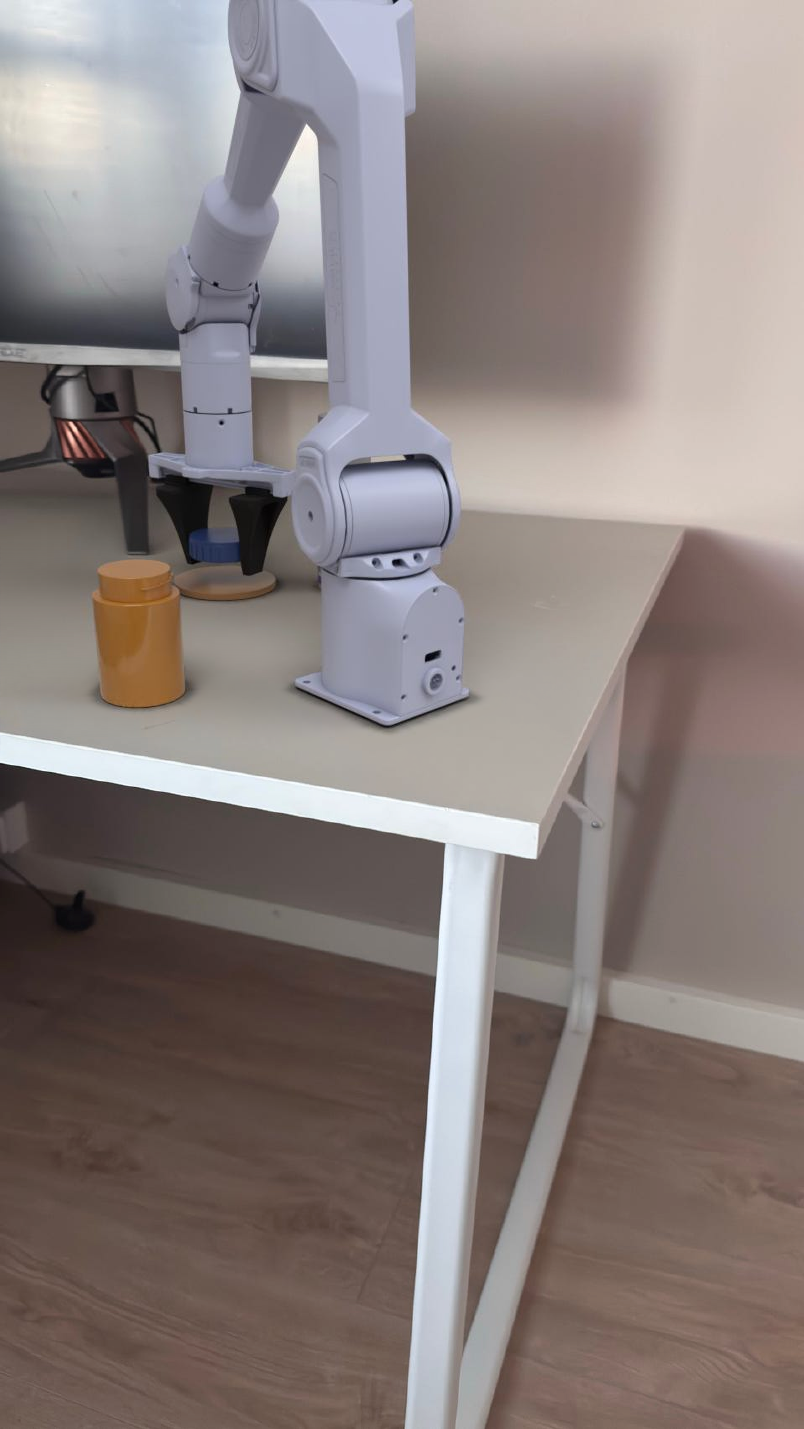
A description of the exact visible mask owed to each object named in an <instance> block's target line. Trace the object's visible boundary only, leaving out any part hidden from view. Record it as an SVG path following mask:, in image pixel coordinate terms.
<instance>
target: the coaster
mask: <svg viewBox="0 0 804 1429" xmlns="http://www.w3.org/2000/svg"><path fill="white" fill-rule="evenodd" d="M173 578H174V579H173V585H174V586H175V587H177V588H178V589H179V591H180V595H182V596H184V597H188V598H193V599H197V600H206V601H236V600H237V601H238V600H247V599H251V598H257V597H260V596H263V595H266V594H268V593H271V592H272V591H273V590H275V588H276V586H277V585H276V584H277V583H276V582H277V580H276V576H275V575H274V574H273V573H271V572H269V571H267V570H264V569H263V571H262V572H260V573H257V574H254V575H251V576H246V575H243V573H242V568H241V565H214V566H204V567H198V568H193V569H189V570H186V571H183V572H181V573H179V574H177V575H176V576H175V577H173Z"/></svg>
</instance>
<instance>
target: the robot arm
mask: <svg viewBox="0 0 804 1429" xmlns="http://www.w3.org/2000/svg"><path fill="white" fill-rule="evenodd" d="M227 9H228V10H227V11H228V12H227V37H228V38H227V39H228V46H229V51H230V56H231V60H232V65H233V69H234V70H233V71H234V75H235V79H236V83H237V86H238V89H239V91H240V93H239V99H238V103H237V109H236V114H235V119H234V124H233V130H232V135H231V139H230V145H229V150H228V155H227V160H226V166H225V172H224V174H221V175H218V176H215V177H213V178H212V179H210V180H209V181H208V182H207V184H206V185H205V187H204V189H203V192H202V195H201V199H200V202H199V206H198V209H197V213H196V217H195V220H194V224H193V227H192V230H191V233H190V237H189V241H188V243H186V245H183V244H181V245H179V247H178V249H177V251H173V252H172V253H171V254H170V256H169V257H168V259H167V264H166V269H165V275H164V276H165V277H164V296H165V304H166V308H167V309H166V310H167V313H168V317H169V319H170V322H171V324H172V326H173V328H174V329H175V330H176V331H178V342H179V343H178V344H179V360H180V378H181V380H180V381H181V395H182V398H181V399H182V415H183V417H182V418H183V434H184V436H183V437H184V452H185V453H171V452H169V453H168V452H159V453H153V454H149V455H148V456H147V459H148V472H149V478H152V479H153V478H154V479H162V478H165V481H163V482H164V484H161V485H158V486H156V487H155V495H156V497H157V498H158V500H159V502H161V504H162V505H163V507H164V509H165V511H166V512H167V514H168V516H169V518H170V521H172V524H173V526H174V528H175V532H176V534H177V536H178V539H179V542H180V545H181V548H182V552H183V555H184V559H185V561H186V564H187V565H191V566H193V565H197V564H199V563H202V561H198V560H195V559H193V558H192V557H191V556H190V555H189V535H190V533H192V532H194V531H196V530H200V529H205V528H209V515H210V505H211V500H212V494H213V489H214V486H218V487H225V488H232V489H238V490H244V493H240V494H236V495H232V496H229V497H228V503H229V506H230V507H231V511H232V514H233V518H234V520H235V525H236V526H235V527H236V528H237V530H238V536H239V545H240V562H239V563H240V566H241V568H242V573H243V575H246V576H251V575H254V574H257V573H260V572H262V571H263V570H264V568H265V561H266V557H267V552H268V548H269V545H270V540H271V537H272V534H273V531H274V529H275V526H276V525H277V521H278V519H279V518H280V515H281V513H282V511H283V509H284V507H285V506H286V504H287V503H288V499H289V498H288V497H289V496H291V501H290V503H291V504H290V505H291V506H290V511H291V513H290V514H291V521H292V522H291V523H292V527H293V532H294V535H295V538H296V541H297V543H298V545H299V548H300V549H301V550H302V552H303V553H304V555H305V556H306V557H307V558H308V559H309V560H310V562H312V563H313V564H314V565H316V566H317V567H318V566H321V589H320V596H321V598H320V603H321V609H320V611H321V613H320V614H321V617H320V618H321V619H320V621H321V622H320V623H321V670H320V671H316V672H313V673H310V674H307V675H303V676H301V677H297V678H295V680H294V686H295V687H296V688H298V689H301V690H303V691H305V692H308V693H310V694H311V695H315V696H317V697H319V698H321V699H324V700H326V701H328V702H330V703H333V704H334V705H337V706H339V707H342V708H344V709H347V710H349V711H350V712H353V713H354V714H356V715H357V714H358V715H360V716H362V717H364V718H367V719H369V720H371V721H374V722H376V723H378V724H380V725H383V726H394V725H395V724H398V723H401V722H404V721H407V720H409V719H411V718H414V717H417V716H419V715H423V714H425V713H428V712H431V711H433V710H435V709H439V708H441V707H445V706H447V705H449V704H452V703H455V702H457V701H458V702H459V701H460V700H463V699H465V698H468V697H469V696H470V689H469V688H467V687H465V686H463V666H464V647H465V646H464V645H465V628H466V610H465V605H464V602H463V599H462V597H461V595H460V593H459V592H458V591H457V590H456V588H454V587H453V586H451V585H449V584H448V583H445V582H444V581H442V580H441V579H440V578H439V577H438V576H437V575H436V574H435V572H434V570H433V569H432V567H434V566H439V565H441V560H442V558H441V557H442V552H443V551H445V550H446V549H448V547H450V546H451V544H452V543H453V541H454V539H455V537H456V536H457V532H458V529H459V527H460V523H461V517H462V501H461V500H462V498H461V494H460V488H459V486H458V482H457V480H456V475H455V471H454V465H453V458H452V457H453V456H452V442H451V440H450V439H449V438H448V437H447V436H446V435H445V433H443V431H441V430H439V429H438V428H437V427H435V426H434V425H433V424H432V423H431V422H429V421H428V420H427V419H426V418H424V417H423V416H422V415H420V413H418V411H416V410H415V409H414V408H413V407H412V397H411V396H412V394H411V392H412V391H411V346H410V345H411V344H410V342H411V341H410V302H409V300H410V297H409V296H410V295H409V293H410V292H409V257H408V256H409V253H408V252H409V250H408V248H409V247H408V208H407V207H408V206H407V205H408V204H407V163H406V162H407V161H406V160H407V159H406V158H407V157H406V118H407V117H409V116H411V115H413V114H414V113H415V112H416V109H417V108H416V107H417V104H416V103H417V102H416V87H417V85H416V84H417V81H416V80H417V78H416V35H415V34H416V26H415V25H416V23H415V5H414V4H413V2H412V1H411V0H229V1H228V8H227ZM306 125H307V126H308V127H309V129H310V130H311V131H312V132H313V133H314V135H315V136H316V141H317V157H318V158H317V159H318V179H319V181H318V182H319V183H318V184H319V203H320V204H319V205H320V225H321V226H320V227H321V247H322V270H323V271H322V272H323V292H324V293H323V294H324V296H323V297H324V312H325V313H324V315H325V316H324V317H325V319H324V320H325V339H326V359H327V360H326V362H327V364H326V365H327V383H328V384H327V385H328V406H329V407H328V408H329V410H328V413H327V412H326V413H327V415H326V416H325V417H324V418H323V419H322V420H321V421H320V422H319V423H318V422H317V424H316V425H315V426H314V427H313V428H312V429H311V430H310V431H309V432H308V433H307V434H306V435H305V436H304V437H303V438H302V439H301V440H300V442H298V444H297V446H296V456H295V457H296V458H295V460H296V461H295V462H296V466H295V470H291V469H286V468H281V467H277V466H274V465H270V464H267V463H263V462H259V461H256V460H254V438H253V405H252V403H253V402H252V373H251V371H252V370H251V354H252V353H254V352H255V351H256V346H257V327H258V323H259V319H260V315H261V308H262V294H261V290H260V283H259V276H260V273H261V271H262V268H263V266H264V262H265V260H266V257H267V254H268V251H269V250H270V248H271V243H272V242H273V239H274V235H275V233H276V231H277V227H278V225H279V222H280V210H279V207H278V204H277V202H276V199H275V198H274V196H273V194H274V193H275V191H276V188H277V187H278V184H279V182H280V180H281V178H282V176H283V174H284V172H285V169H286V167H287V165H288V163H289V162H290V160H291V157H292V155H293V153H294V151H295V149H296V146H297V145H298V142H299V140H300V138H301V136H302V133H303V132H304V130H305V128H306ZM395 456H403V458H404V459H397V460H396V459H395V460H383V461H371V462H369V463H356V464H348V463H349V462H351V461H352V460H356V459H359V458H368V457H371V458H380V457H381V458H382V457H395Z"/></svg>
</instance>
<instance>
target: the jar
mask: <svg viewBox="0 0 804 1429" xmlns="http://www.w3.org/2000/svg"><path fill="white" fill-rule="evenodd" d="M96 571H97V572H96V573H97V581H98V588H96V589H94V590H93V592H92V593H91V606H92V616H93V625H94V637H95V649H96V658H97V668H98V679H99V690H100V696H101V698H102V700H104V701H105V702H107V703H109V704H111V705H113V706H118V707H122V708H123V707H125V708H149V707H156V706H162V705H166V704H169V703H172V702H174V701H176V700H178V699H180V698H181V697H182V696H183V695H184V694H185V693H186V674H185V672H186V671H185V658H184V656H185V655H184V640H183V624H182V608H181V605H182V604H181V594H180V591H179V589H178V588H177V587H175V586H174V584H172V579H173V578H174V575H173V571H172V570H171V565H169V564H168V563H166V562H164V561H159V560H156V559H155V560H154V559H143V558H141V559H139V558H138V559H137V558H136V559H134V558H133V559H122V560H115V561H111V562H108V563H104V564H103V565H100V566H99V567H98V568H97V570H96Z"/></svg>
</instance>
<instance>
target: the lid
mask: <svg viewBox="0 0 804 1429" xmlns="http://www.w3.org/2000/svg"><path fill="white" fill-rule="evenodd" d="M189 555H190V556H191V557H192V558H193V559H195V560H198V561H202V562H203V563H208V564H209V563H210V564H234V563H241V562H240V545H239V536H238V530H237V526H213V527H208V528H205V529H200V530H196V531H194V532H192V533H190V535H189ZM202 562H201V563H202Z"/></svg>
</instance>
